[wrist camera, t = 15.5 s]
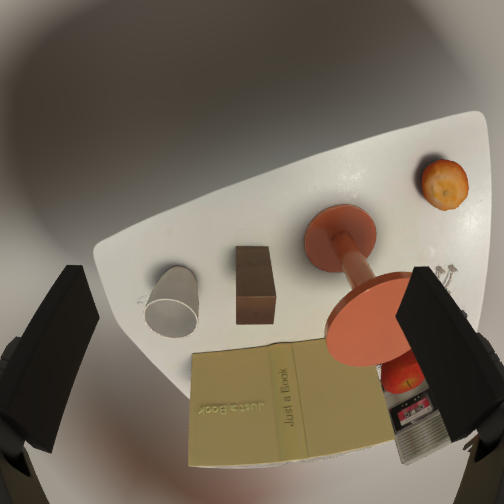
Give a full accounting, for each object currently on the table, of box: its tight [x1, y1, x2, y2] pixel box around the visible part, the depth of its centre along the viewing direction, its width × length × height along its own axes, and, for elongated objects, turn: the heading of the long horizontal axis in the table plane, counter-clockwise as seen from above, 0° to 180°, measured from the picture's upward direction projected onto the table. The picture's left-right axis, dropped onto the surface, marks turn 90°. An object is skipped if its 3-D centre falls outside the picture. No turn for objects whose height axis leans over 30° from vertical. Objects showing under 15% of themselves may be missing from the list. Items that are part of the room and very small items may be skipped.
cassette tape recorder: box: [380, 379, 451, 465], centre depth 61 cm, size 14×6×25 cm, turn 130°
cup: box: [143, 266, 199, 339], centre depth 47 cm, size 8×8×10 cm
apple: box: [381, 349, 425, 394], centre depth 60 cm, size 11×11×12 cm
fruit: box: [422, 159, 469, 211], centre depth 40 cm, size 8×8×8 cm
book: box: [188, 339, 395, 468], centre depth 54 cm, size 36×8×24 cm, turn 97°
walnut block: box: [236, 246, 276, 325], centre depth 45 cm, size 5×5×12 cm
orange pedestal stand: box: [304, 204, 412, 367], centre depth 40 cm, size 14×14×20 cm
